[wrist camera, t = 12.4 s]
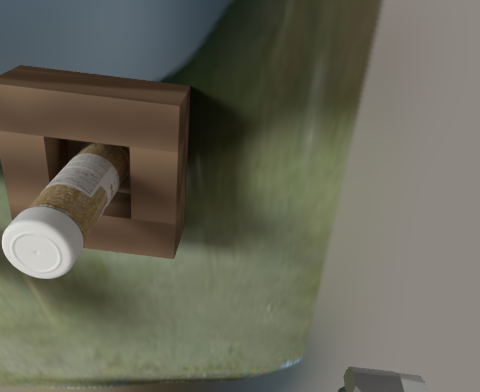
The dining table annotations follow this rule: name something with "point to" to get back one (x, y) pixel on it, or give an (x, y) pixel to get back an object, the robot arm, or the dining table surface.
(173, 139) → the walnut socket block
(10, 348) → the dining table surface
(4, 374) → the dining table surface
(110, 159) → the sprinkles bottle
